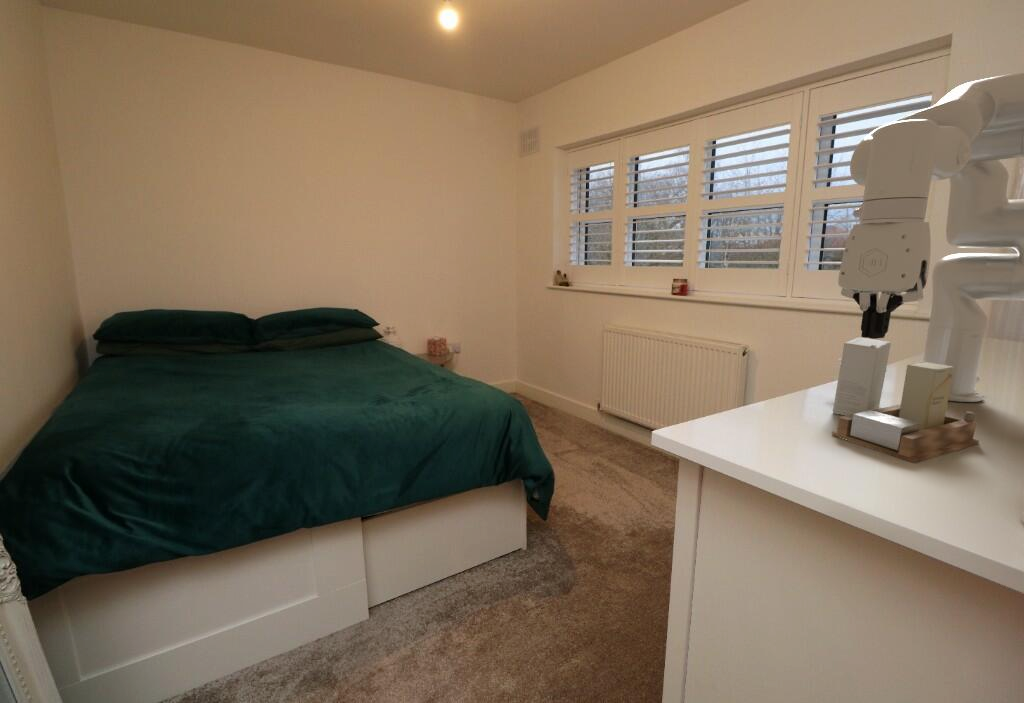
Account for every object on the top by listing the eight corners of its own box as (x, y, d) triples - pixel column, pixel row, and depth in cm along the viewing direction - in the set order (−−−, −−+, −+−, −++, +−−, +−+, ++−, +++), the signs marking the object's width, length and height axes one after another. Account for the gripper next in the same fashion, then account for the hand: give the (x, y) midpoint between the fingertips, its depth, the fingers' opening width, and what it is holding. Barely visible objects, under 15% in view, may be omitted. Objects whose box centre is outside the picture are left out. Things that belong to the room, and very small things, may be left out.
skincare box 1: (845, 406, 102) (856, 336, 99) (880, 413, 98) (892, 340, 95) (831, 414, 97) (841, 341, 94) (867, 422, 92) (879, 345, 89)
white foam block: (867, 430, 85) (871, 410, 84) (915, 445, 79) (919, 423, 78) (850, 435, 83) (853, 413, 82) (897, 450, 77) (901, 427, 76)
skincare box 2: (924, 439, 82) (937, 369, 80) (894, 431, 86) (905, 364, 84) (943, 433, 85) (956, 366, 82) (913, 425, 89) (925, 360, 86)
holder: (895, 420, 93) (899, 395, 92) (978, 443, 82) (984, 414, 81) (832, 435, 86) (835, 407, 84) (914, 462, 74) (920, 431, 73)
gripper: (825, 216, 76) (809, 331, 80) (939, 208, 63) (915, 347, 66) (854, 218, 79) (838, 329, 83) (969, 211, 66) (945, 344, 69)
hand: (872, 337), depth 74 cm, fingers closed
